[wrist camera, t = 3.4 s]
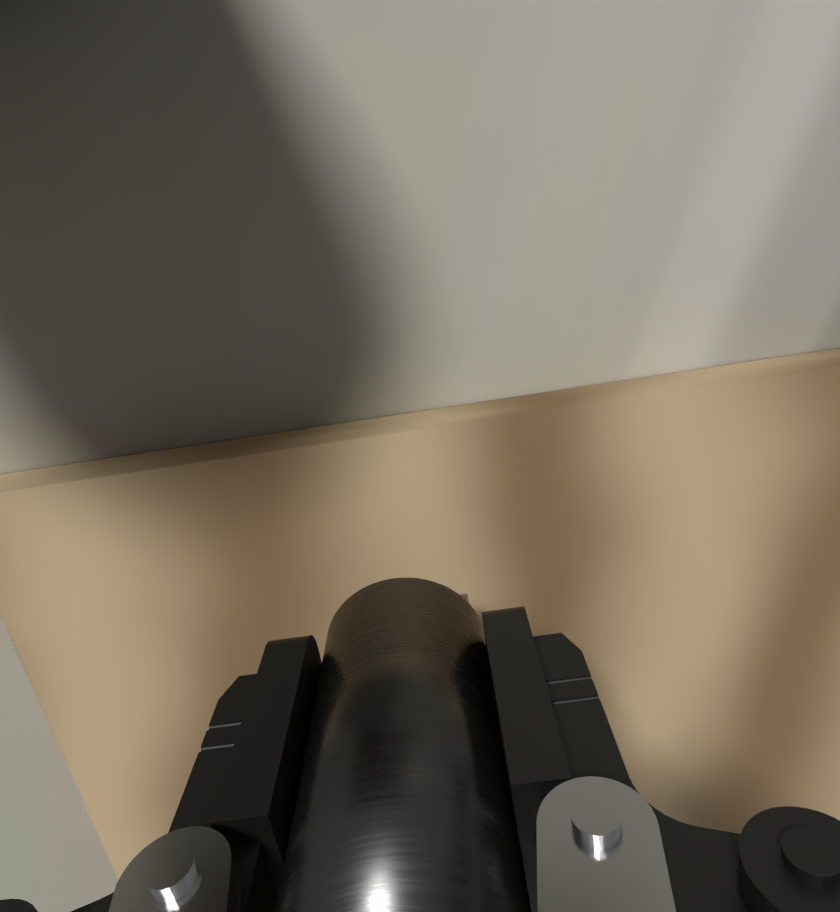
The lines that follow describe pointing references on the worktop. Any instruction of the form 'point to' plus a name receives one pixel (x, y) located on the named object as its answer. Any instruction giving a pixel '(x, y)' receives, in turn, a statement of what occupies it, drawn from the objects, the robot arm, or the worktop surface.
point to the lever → (404, 765)
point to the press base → (462, 576)
